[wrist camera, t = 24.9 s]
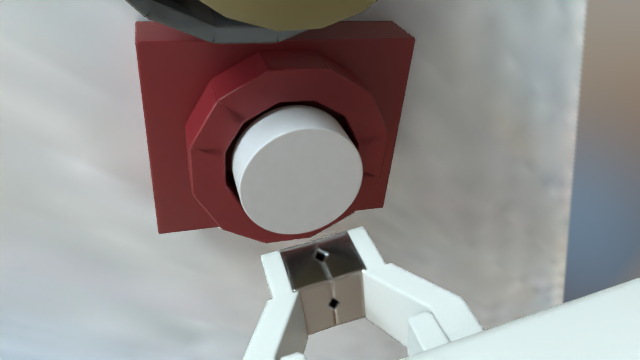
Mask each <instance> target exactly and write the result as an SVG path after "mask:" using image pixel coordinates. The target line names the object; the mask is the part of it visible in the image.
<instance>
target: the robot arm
mask: <svg viewBox="0 0 640 360" xmlns="http://www.w3.org/2000/svg"><path fill="white" fill-rule="evenodd" d="M261 259H262V264H263V268H264V272H265V276H266V281H267V285H268V289H269V293H270V297H271V299H270V300H268V302H267V304H266V306H265V309H264V311H263V313H262V316H261V318H260V320H259V323H258V325H257V327H256V330H255V332H254V334H253V337H252V339H251V341H250V344H249V346H248V348H247V351H246V353H245V355H244V358H243V360H306V358H305V355H304V351H305V347H306V343H307V339H308V335H311V334H313V333H316V332H319V331H322V330H325V329H328V328H331V327H333V326H336V325H340V324H343V323H347V322H350V321H354V320H357V319H360V318H364V317H366V319H367V320H369V321H370V322H372V323H373V324H374V325H376V326H377V327H379V328H380V329H381V330H383V331H384V332H386V333H387V334H388V335H390V336H391V337H393V338H394V339H395V340H397V341H398V342H400V343H401V344H402V345H404V346H405V347H407V348H408V356H407V357H404V358H402V359H399V360H640V278H637V279H634V280H631V281H628V282H625V283H622V284H619V285H616V286H614V287H610V288H608V289H604V290H602V291H599V292H596V293H593V294H590V295H587V296H584V297H581V298H578V299H575V300H573V301H569V302H566V303H563V304H560V305H557V306H554V307H551V308H549V309H546V310H543V311H540V312H537V313H534V314H531V315H528V316H525V317H522V318H519V319H516V320H513V321H510V322H507V323H504V324H501V325H498V326H496V327H493V328H490V329H487V330H484V328H483V327H482V325H481V324H480V322H479V321H478V320H477V318H476V317H475V315H474V314H473V312H472V311H471V309H470V308H469V307H468V305H467V304H466V302H465V301H464V299H463V298H462V297H460V296H458V295H456V294H454V293H452V292H450V291H448V290H446V289H444V288H442V287H440V286H437V285H435V284H433V283H431V282H429V281H427V280H425V279H423V278H421V277H419V276H417V275H415V274H413V273H411V272H409V271H407V270H405V269H403V268H401V267H399V266H397V265H395V264H393V263H389V264H386V262H385V261H384V259H383V257H382V256H381V254H380V252H379V250H378V249H377V247H376V245H375V244H374V242H373V240H372V239H371V237H370V235H369V233H368V232H367V230H366V228H365V227H363V226H361V227H358V228H355V229H351V230H348V231H346V232H342V233H338V234H335V235H332V236H328V237H325V238H321V239H318V240H315V241H312V242H308V243H304V244H300V245H296V246H293V247H289V248H285V249H281V250H279V251H275V252H271V253H267V254H263V255H261Z"/></svg>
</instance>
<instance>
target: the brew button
mask: <svg viewBox="0 0 640 360" xmlns="http://www.w3.org/2000/svg"><path fill="white" fill-rule="evenodd" d="M232 172H233V176H234V180H235V183H236V187H237V190H238V194H239V198H240V201H241V204H242V207H243V209H244V211H245V212H246V214H247V215H248V216H249V218H250V219H251V220H252V221H253V222H255V223H256V224H257V225H259V226H260V227H262V228H264V229H266V230H269V231H271V232H275V233H280V234H301V233H306V232H310V231H314V230H316V229H319V228H321V227H323V226H325V225H327V224H329V223H331V222H332V221H334V220H335V219H337V218H338V217H339V216H340V215H342V214H343V213H344V212H345V211H346V210H347V209H348V207H349V206H350V205H351V204H352V202H353V201H354V199H355V198H356V196H357V194H358V192H359V189H360V186H361V183H362V178H363V164H362V160H361V157H360V154H359V152H358V150H357V149H356V147H355V146H354V144H353V143H352V141H351V140H350V138H349V137H348V135H347V134H346V133H345V131H344V130H343V128H342V127H341V125H340V124H339V123H338V122H337V120H336V119H335V118H333V117H332V116H331V115H330V114H328V113H327V112H325V111H323V110H321V109H318V108H315V107H311V106H305V105H290V106H284V107H280V108H276V109H274V110H271V111H269V112H267V113H265V114H263V115H261V116H260V117H258V118H257V119H255V120H254V121H253V122H252V123H251V124H250V125H249V126H248V127H247V128H246V129H245V130H244V131H243V133H242V134H241V136H240V137H239V139H238V141H237V143H236V145H235V148H234V151H233V155H232Z"/></svg>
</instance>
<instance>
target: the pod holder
mask: <svg viewBox="0 0 640 360" xmlns="http://www.w3.org/2000/svg"><path fill="white" fill-rule="evenodd" d="M126 1H127V2H128V3H129V4H130V5H131V6H132V7H134V8H135V9H136V10H137V11H138V12H139V13H140V14H142V15H143V16H144V17H147V18H148V19H149V20H152V21H155V22H157V23H160V24H163V25H165V26H168V27H170V28H173V29H176V30H178V31H181V32H184V33H186V34H189V35H191V36H194V37H197V38H199V39H202V40H204V41H207V42H210V43H215V44H236V43H277V42H282V41H284V40H286V39H289V38H291V37H293V36H296V35H298V34H300V33H303V32H305V31H308V30H310V29H305V30H290V31H275V30H271V29H267V28H264V27H260V26H256V25H252V24H248V23H245V22H241V21H237V20H233V19H230V18H227V17H224V16H223V15H221V14H220V13H218V12H217V11H215V10H213V9H212V8H210V7H209V6H207V5H206V4H204V3H202V2H201V1H199V0H126Z"/></svg>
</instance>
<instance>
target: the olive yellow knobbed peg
mask: <svg viewBox="0 0 640 360" xmlns="http://www.w3.org/2000/svg"><path fill="white" fill-rule="evenodd" d="M199 1H201V2H202V3H204V4H206V5H207V6H209V7H210V8H212V9H213V10H215V11H217V12H218V13H220V14H221V15H223V16H224V17H227V18H230V19H233V20H237V21H241V22H245V23H248V24H252V25H256V26H260V27H264V28H267V29H271V30H275V31H290V30H305V29H321V28H324V27H327V26H329V25H332V24H334V23H337V22H339V21H342V20H344V19H347V18H349V17H352V16H354V15H357V14H359V13H362V12H364V11H365V10H366V9H367V8H369V7H370V6H371V5H372V4H374V3H375V2H376V1H377V0H199Z"/></svg>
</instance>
